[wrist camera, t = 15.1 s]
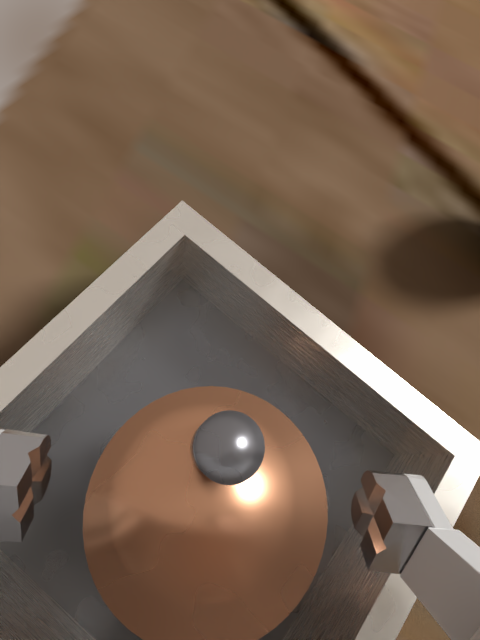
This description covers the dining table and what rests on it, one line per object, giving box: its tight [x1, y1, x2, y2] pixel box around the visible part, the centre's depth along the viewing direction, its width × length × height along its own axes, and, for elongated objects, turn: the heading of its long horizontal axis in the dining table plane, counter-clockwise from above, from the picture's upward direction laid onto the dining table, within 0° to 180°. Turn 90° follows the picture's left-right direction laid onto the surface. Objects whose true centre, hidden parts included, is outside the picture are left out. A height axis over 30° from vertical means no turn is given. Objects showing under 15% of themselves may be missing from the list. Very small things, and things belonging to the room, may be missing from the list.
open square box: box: [0, 201, 480, 640], centre depth 15 cm, size 16×16×6 cm
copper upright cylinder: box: [83, 386, 328, 640], centre depth 11 cm, size 5×5×10 cm
